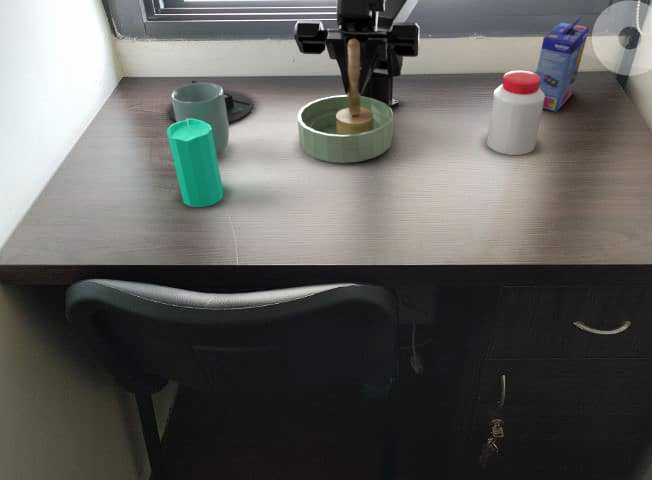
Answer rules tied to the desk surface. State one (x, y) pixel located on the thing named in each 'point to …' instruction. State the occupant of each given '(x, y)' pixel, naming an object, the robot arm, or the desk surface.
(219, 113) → the cup
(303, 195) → the desk surface
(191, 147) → the candle
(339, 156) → the bowl
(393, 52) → the robot arm
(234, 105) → the black round base plate
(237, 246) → the desk surface
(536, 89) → the pill bottle
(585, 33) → the ink cartridge box
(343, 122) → the wooden mushroom pestle
